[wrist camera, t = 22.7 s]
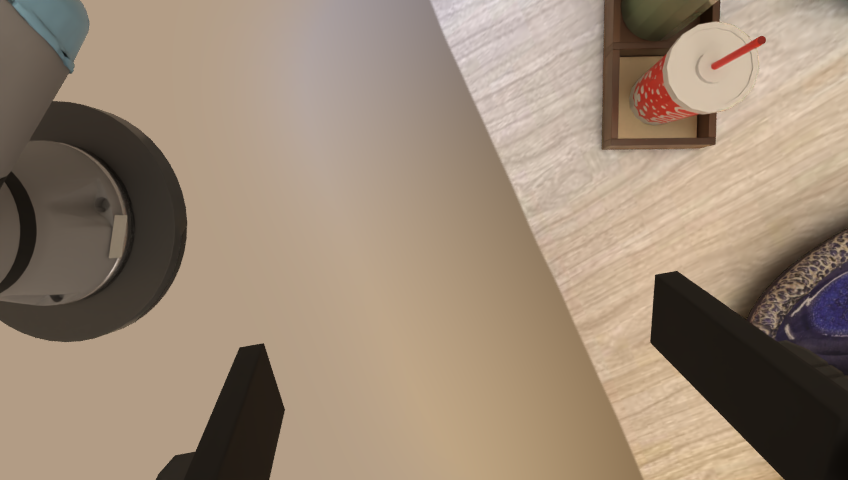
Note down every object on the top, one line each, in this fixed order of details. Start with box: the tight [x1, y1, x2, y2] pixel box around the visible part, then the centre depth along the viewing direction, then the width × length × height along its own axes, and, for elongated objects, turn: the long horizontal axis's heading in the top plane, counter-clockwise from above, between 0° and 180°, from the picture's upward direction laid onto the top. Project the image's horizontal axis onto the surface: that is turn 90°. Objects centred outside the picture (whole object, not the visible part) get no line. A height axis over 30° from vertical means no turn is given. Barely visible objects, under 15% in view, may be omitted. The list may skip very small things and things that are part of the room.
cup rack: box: [602, 0, 720, 150], centre depth 40 cm, size 25×9×2 cm, turn 0°
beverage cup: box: [629, 21, 766, 125], centre depth 34 cm, size 6×6×14 cm
